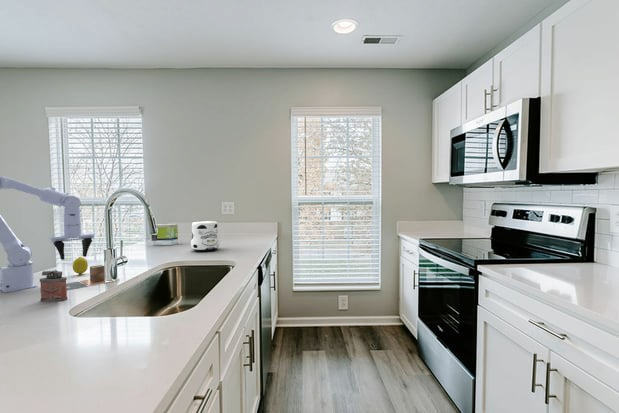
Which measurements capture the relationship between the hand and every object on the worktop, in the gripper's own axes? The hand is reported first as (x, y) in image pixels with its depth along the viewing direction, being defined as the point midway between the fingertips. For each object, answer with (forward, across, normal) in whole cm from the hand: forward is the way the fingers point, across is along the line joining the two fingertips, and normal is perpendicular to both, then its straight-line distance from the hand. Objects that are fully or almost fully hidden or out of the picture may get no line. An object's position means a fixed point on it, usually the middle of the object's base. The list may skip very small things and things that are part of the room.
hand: (73, 257), depth 133 cm
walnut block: (+9, +5, -10) cm, 15 cm away
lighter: (+10, -13, -26) cm, 31 cm away
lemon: (+10, +5, +10) cm, 15 cm away
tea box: (+10, +75, +70) cm, 103 cm away
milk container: (+10, +76, +21) cm, 79 cm away
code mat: (+9, -6, -10) cm, 15 cm away
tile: (+9, +5, -10) cm, 15 cm away
